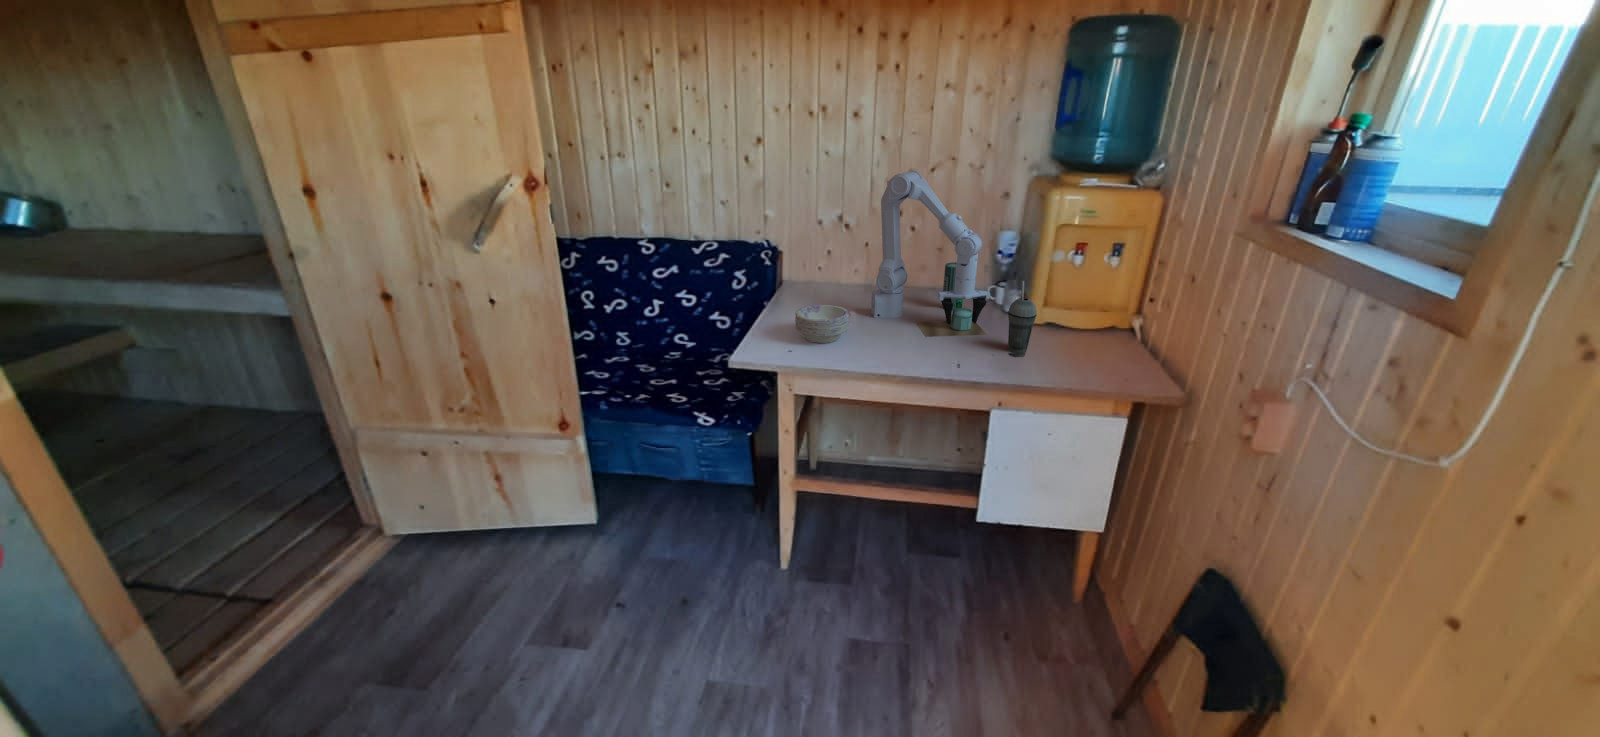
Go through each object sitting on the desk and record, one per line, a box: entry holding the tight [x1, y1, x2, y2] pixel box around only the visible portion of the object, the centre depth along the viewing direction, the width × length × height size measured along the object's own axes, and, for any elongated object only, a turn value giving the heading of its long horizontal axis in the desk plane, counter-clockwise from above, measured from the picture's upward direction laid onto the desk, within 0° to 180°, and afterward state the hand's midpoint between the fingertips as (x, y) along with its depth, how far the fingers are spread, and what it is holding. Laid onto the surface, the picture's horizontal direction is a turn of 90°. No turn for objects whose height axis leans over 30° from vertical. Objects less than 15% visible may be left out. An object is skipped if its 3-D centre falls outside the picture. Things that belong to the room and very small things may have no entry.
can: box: [941, 261, 964, 311], centre depth 207 cm, size 6×6×15 cm
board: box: [914, 320, 988, 338], centre depth 192 cm, size 18×12×1 cm, turn 95°
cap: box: [951, 307, 973, 330], centre depth 191 cm, size 5×5×5 cm
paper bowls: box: [794, 304, 850, 344], centre depth 187 cm, size 15×15×8 cm
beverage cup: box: [1007, 280, 1038, 358], centre depth 173 cm, size 7×7×20 cm
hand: (961, 322), depth 191 cm, fingers open, 7 cm apart
